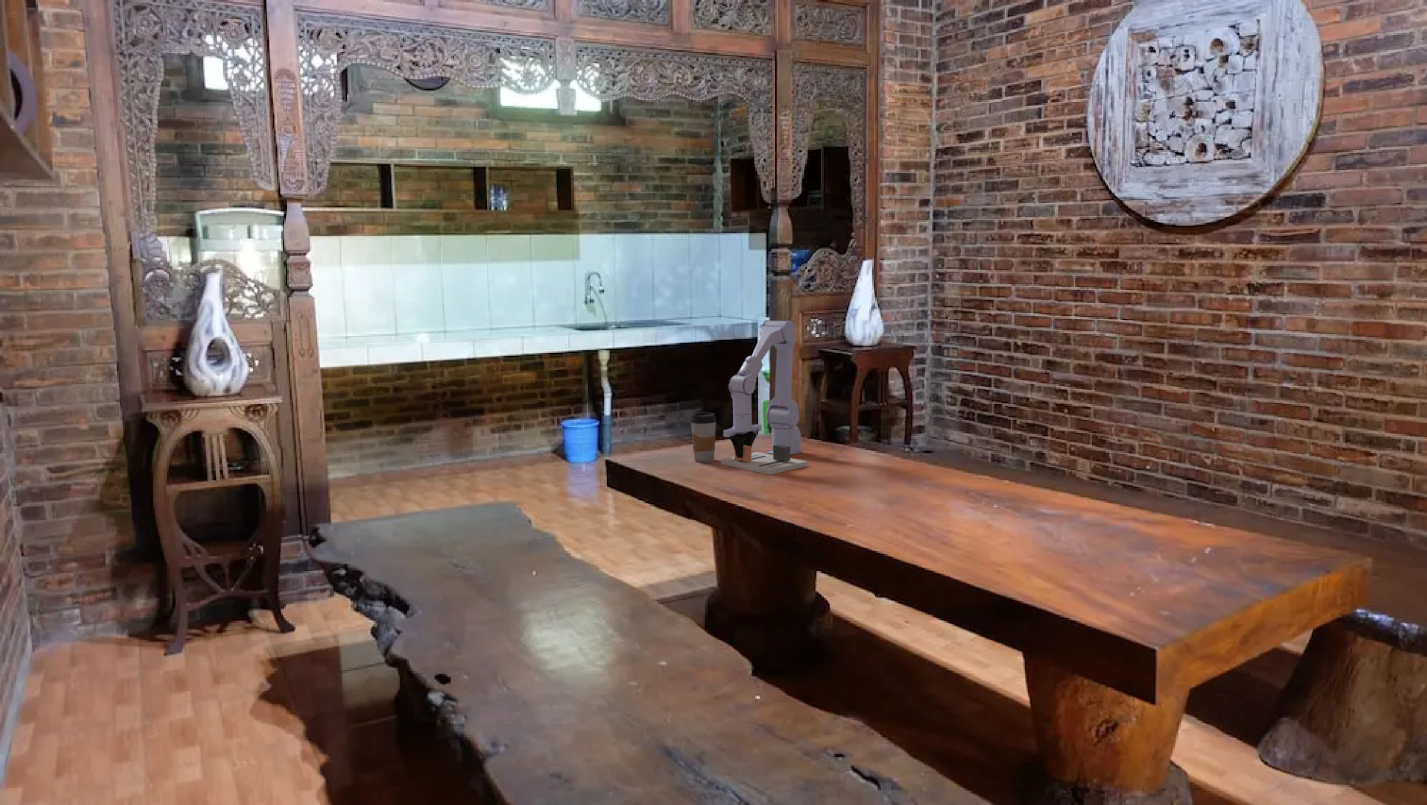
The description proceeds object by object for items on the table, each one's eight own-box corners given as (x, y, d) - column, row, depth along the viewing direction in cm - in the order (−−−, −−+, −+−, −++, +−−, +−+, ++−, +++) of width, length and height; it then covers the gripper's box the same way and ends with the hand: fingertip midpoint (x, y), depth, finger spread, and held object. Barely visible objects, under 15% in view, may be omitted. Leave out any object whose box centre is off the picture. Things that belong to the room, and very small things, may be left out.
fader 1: (740, 458, 312) (740, 444, 311) (751, 460, 308) (751, 446, 307) (734, 459, 310) (734, 445, 309) (745, 461, 306) (745, 447, 306)
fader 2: (778, 458, 310) (778, 444, 310) (790, 460, 307) (790, 446, 306) (773, 459, 309) (773, 445, 308) (784, 461, 305) (784, 447, 304)
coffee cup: (687, 459, 320) (686, 413, 318) (710, 456, 324) (709, 411, 321) (697, 464, 313) (696, 417, 311) (721, 461, 316) (720, 415, 314)
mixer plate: (757, 456, 323) (757, 451, 323) (806, 466, 307) (806, 461, 307) (721, 464, 312) (720, 459, 312) (770, 474, 296) (770, 469, 296)
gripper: (750, 409, 314) (750, 451, 317) (716, 415, 305) (717, 458, 307) (765, 411, 309) (766, 454, 311) (732, 417, 300) (732, 461, 302)
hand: (743, 456), depth 309 cm, fingers closed on fader 1, 2 cm apart
